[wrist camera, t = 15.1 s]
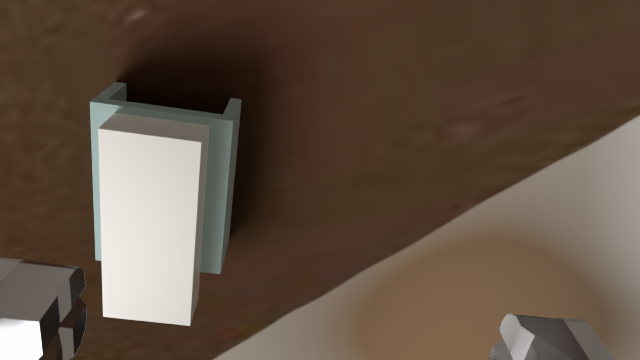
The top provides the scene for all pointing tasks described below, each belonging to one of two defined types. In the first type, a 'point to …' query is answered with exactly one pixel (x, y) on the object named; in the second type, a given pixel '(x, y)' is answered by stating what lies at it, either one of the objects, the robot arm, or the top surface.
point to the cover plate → (151, 216)
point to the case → (218, 164)
